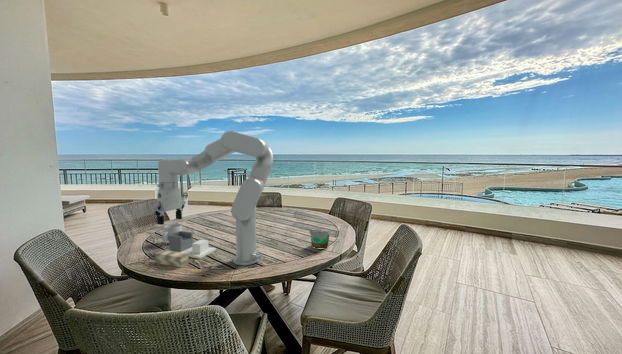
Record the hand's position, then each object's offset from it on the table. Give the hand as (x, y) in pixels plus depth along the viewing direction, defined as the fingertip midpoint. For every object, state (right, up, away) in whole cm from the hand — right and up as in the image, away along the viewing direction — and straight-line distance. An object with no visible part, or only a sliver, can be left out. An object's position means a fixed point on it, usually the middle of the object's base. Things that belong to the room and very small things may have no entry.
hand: (170, 221), depth 110 cm
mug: (-16, -18, +27) cm, 37 cm away
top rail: (0, -21, +1) cm, 21 cm away
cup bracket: (+2, -19, +15) cm, 25 cm away
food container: (+71, -19, +21) cm, 77 cm away
